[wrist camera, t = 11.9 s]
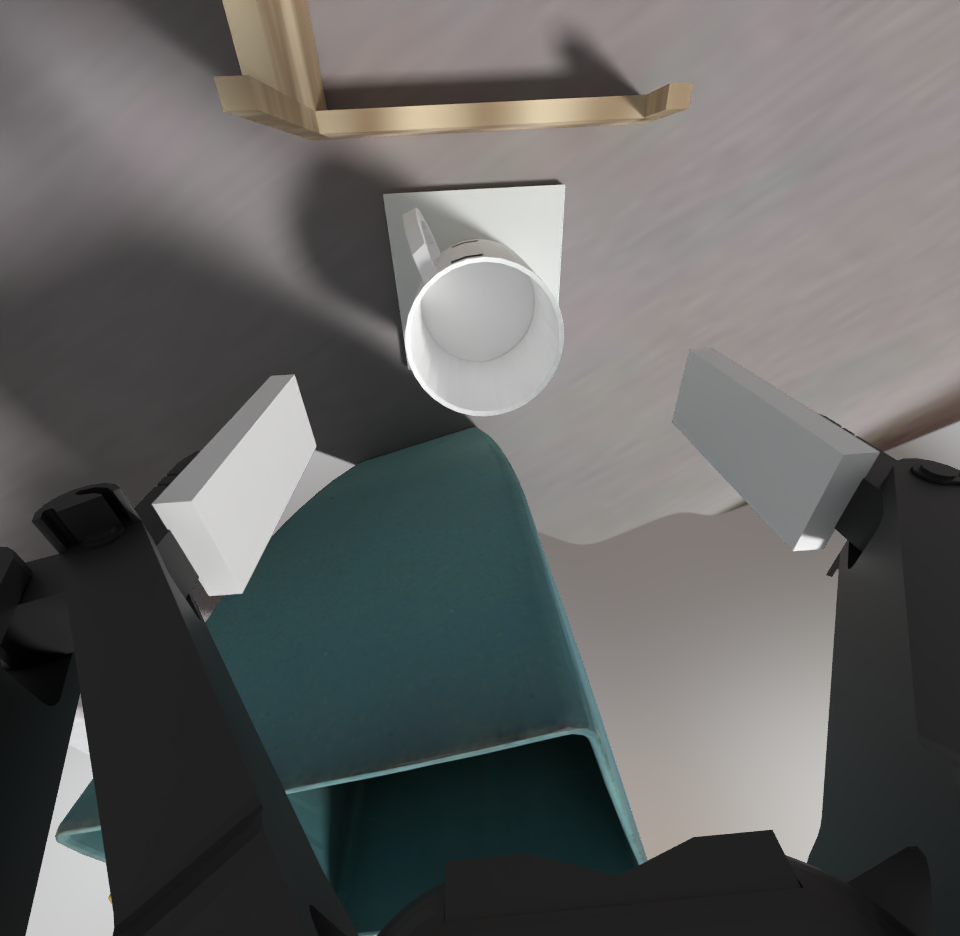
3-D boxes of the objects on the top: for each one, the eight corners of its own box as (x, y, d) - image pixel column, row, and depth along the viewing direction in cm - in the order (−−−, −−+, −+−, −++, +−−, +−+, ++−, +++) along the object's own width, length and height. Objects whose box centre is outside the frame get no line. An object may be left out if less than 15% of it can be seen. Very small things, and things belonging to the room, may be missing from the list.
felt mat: (409, 367, 35) (408, 369, 34) (384, 194, 28) (382, 194, 27) (553, 358, 35) (554, 361, 34) (563, 184, 28) (565, 184, 28)
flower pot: (293, 439, 38) (28, 849, 14) (503, 369, 35) (598, 734, 12) (388, 579, 49) (326, 944, 25) (555, 534, 46) (659, 896, 22)
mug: (553, 336, 33) (582, 382, 25) (450, 381, 35) (448, 436, 27) (496, 165, 27) (512, 156, 19) (373, 229, 29) (342, 245, 21)
